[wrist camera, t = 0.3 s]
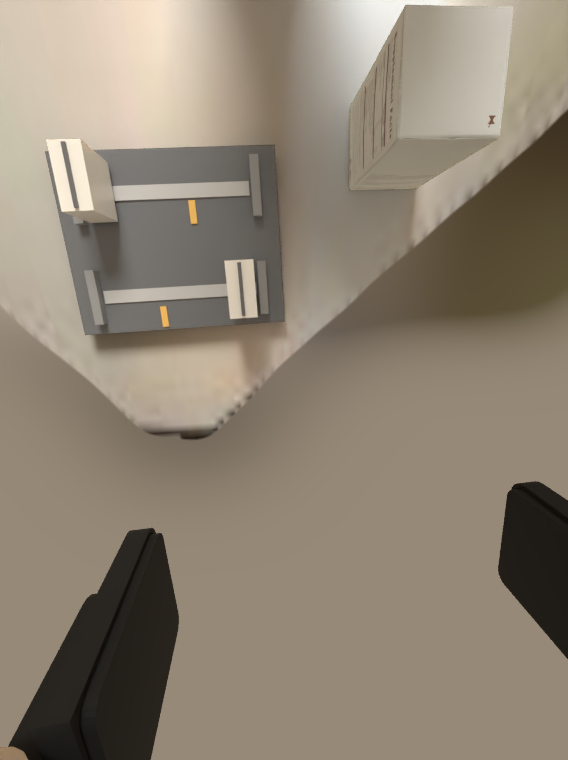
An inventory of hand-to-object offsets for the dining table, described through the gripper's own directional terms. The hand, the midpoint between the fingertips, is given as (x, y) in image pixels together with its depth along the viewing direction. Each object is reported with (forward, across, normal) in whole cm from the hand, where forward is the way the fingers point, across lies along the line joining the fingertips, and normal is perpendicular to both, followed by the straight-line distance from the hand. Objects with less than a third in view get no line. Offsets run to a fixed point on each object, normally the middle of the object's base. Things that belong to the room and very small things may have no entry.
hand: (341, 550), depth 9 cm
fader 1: (+28, +14, -16) cm, 35 cm away
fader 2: (+28, +3, -7) cm, 29 cm away
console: (+30, +8, -11) cm, 33 cm away
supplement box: (+30, -13, -19) cm, 38 cm away
